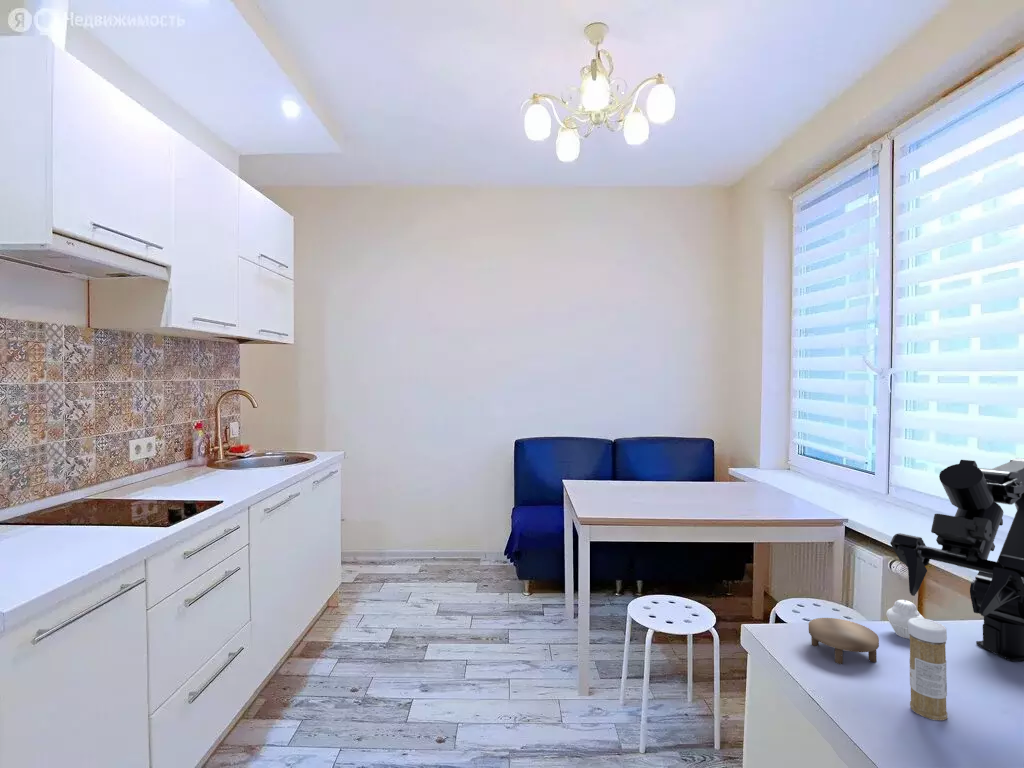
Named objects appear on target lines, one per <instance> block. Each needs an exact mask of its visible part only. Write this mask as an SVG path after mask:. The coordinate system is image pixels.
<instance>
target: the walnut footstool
mask: <svg viewBox="0 0 1024 768" xmlns="http://www.w3.org/2000/svg"><path fill="white" fill-rule="evenodd" d="M808 634H809V635H810V637H811V638H810V639H811V645H812V646H813V647H819V646H820V645H819V643H821V644H823V645H826V646H827V647H831V648H833V649H834V662H835V663H836V664H838V665H843V664H844V653H843V652H844V651H846V652H853V653H868V654H867V655H868V661H869V660H870V662H871V663H877V662H878V661H877V658H878V657H877V650H878V648H879V647H880V638H879V635H878V634H877V633H876V632H875V631H874V630H872V629H871V628H869V627H867V626H865V625H863V624H860V623H857V622H854V621H851V620H846V619H842V618H836V617H835V618H834V617H820V618H819V617H818V618H815V619H812V620H810V621H809V622H808Z"/></svg>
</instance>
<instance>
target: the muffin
mask: <svg viewBox="0 0 1024 768" xmlns="http://www.w3.org/2000/svg"><path fill="white" fill-rule="evenodd" d="M886 617H887V619H888V623H889V624H890V626H891V628H892V629H893V631H894V632H895V634H896V635H897V636H898V637H900V638H903V639H907V640H910V635H909V632H908V621H909V619H912V618H924V616H923V615H922V614H921V613H920V612H919V611H918V609H917V606H916V604H915V603H913V602H911V601H909V600H906V599H898V600H896V601H894V604H893V605H892V607H890V608H888V609H887V611H886Z"/></svg>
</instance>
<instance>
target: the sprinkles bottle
mask: <svg viewBox="0 0 1024 768" xmlns="http://www.w3.org/2000/svg"><path fill="white" fill-rule="evenodd" d="M908 632H909V635H910V639H909V685H910V702H909V706H910V709H911V710H912V711H913V712H914V713H916V714H917V715H920V716H922V717H923V718H926V719H928V720H931V721H932V720H933V721H944V720H947V719H948V718H949V716H948V712H947V696H948V683H947V682H948V680H947V678H948V677H947V660H946V653H947V652H946V643H947V640H948V637H947V628H946V627H945V625H943V624H942V623H939V622H938V621H935V620H932V619H929V618H925V617H923V618H912V619H909V621H908Z"/></svg>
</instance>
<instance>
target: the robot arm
mask: <svg viewBox="0 0 1024 768" xmlns="http://www.w3.org/2000/svg"><path fill="white" fill-rule="evenodd" d="M938 477H939V481H940V483H941V484H942V487H943V489H944V491H945V494H946V496H947V497H948V499H949V501H950V503H951V504H950V505H953V506H954V507H955V508H957V509H956V512H955V514H954V515H948V514H943V513H934V514H933V515H934V516H933V519H932V525H931V530H930V531H931V533H932V534H935V535H936V536H937V537H936V539H935V540H936V543H937V544H938V545H939V546H941V548H936V547H932V546H928V545H926V543H925V542H924V539H923V537H922V536H916V535H912V534H905V533H901V532H900V533H899V532H898V533H895V534H894V535H893V536H892V538H891V541H890V545H891V547H892V549H893V550H894V552H895V554H896V556H897V558H898V559H899V561H900V562H902V563H903V564H905V567H907V570H908V571H907V573H908V591H909V593H910V596H913V597H914V596H916V594H917V593H918V592H919V590H920V588H921V585H922V584H923V581H924V579H925V576H926V574H927V573H928V570H927V567H926V566H928V565H929V563H930V560H933V561H937V562H941V563H946V564H949V565H955V566H957V567H960V568H964V569H968V570H972V571H973V570H974V571H977V572H978V573H977V575H976V576H975V580H974V579H973V580H972V581H971V583H970V586H969V595H970V599H971V605H972V611H973V613H974V614H979V615H980V616H982V617H983V623H982V640H977V641H975V644H976V645H977V646H979V647H981V648H983V649H985V650H987V651H989V652H992V653H994V654H995V655H997V656H999V657H1001V658H1002V659H1005V660H1007V661H1010V662H1019V661H1024V458H1022V457H1021V458H1020V457H1015V458H1011V459H1010V460H1009V462H1006V463H1003V464H1000V465H999V466H995V467H993V468H985V467H984V468H982V467H981V468H980V467H978V464H977V462H976V460H971V459H970V460H969V459H960V461H959V463H957V464H952V465H949V466H947V467H946V468H944V469H943V470H940V472H939V476H938ZM999 504H1001V505H1002V504H1003V505H1009V506H1011V505H1014V506H1015V508H1016V511H1015V514H1014V518H1013V519H1012V523H1011V525H1010V526H1009V527H1010V528H1009V530H1008V533H1007V535H1006V538H1005V540H1004V543H1003V546H1002V547H1001V551H1000V553H999V554H998V557H997V561H994V560H989V559H988V558H989V556H990V554H991V553H990V552H994V551H995V548H996V545H995V543H994V542H995V539H996V537H997V533H998V531H999V528H1000V526H1001V527H1002V526H1003V525H1004V520H1003V516H1004V510H1003V509H1002V507H1001V505H999Z"/></svg>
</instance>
